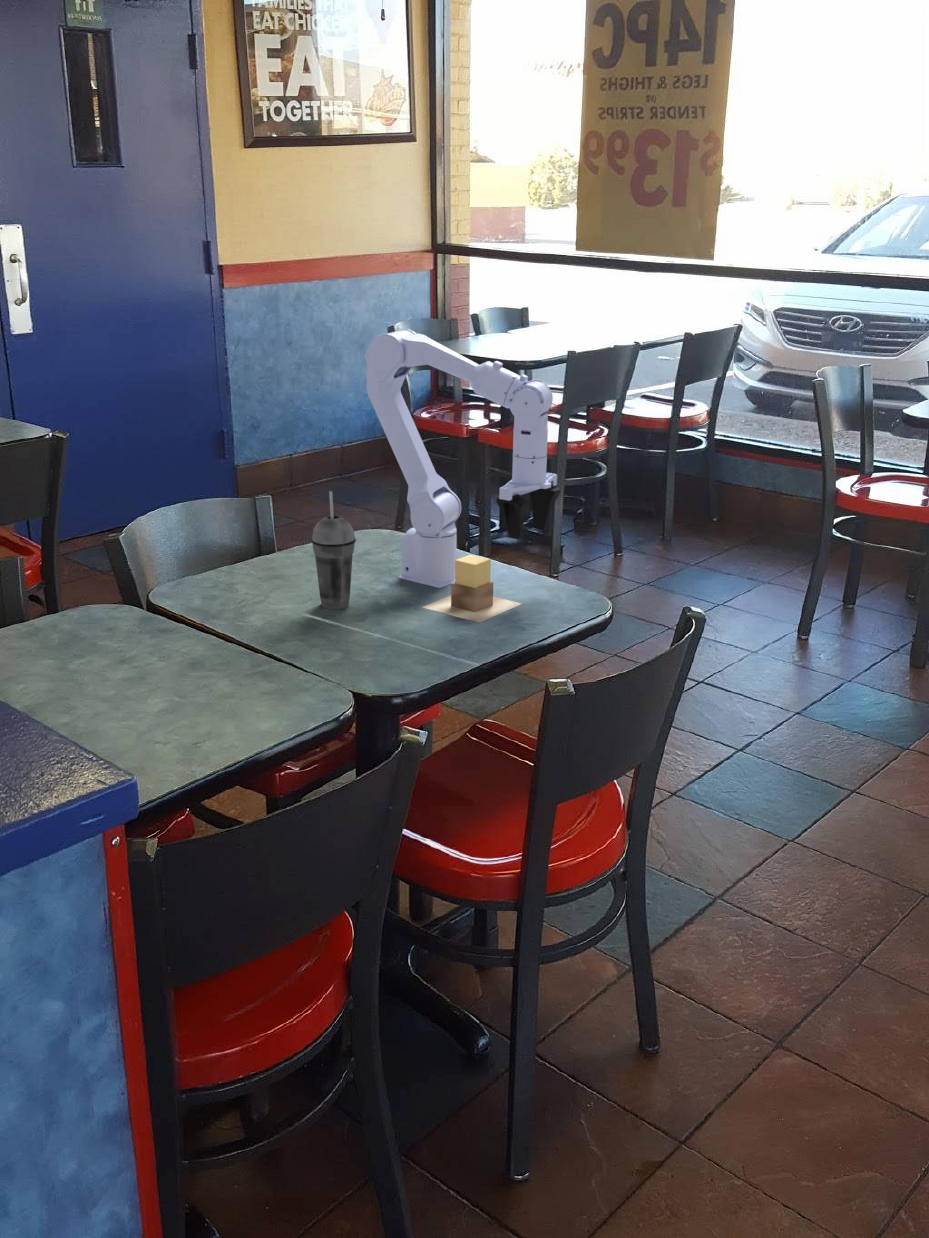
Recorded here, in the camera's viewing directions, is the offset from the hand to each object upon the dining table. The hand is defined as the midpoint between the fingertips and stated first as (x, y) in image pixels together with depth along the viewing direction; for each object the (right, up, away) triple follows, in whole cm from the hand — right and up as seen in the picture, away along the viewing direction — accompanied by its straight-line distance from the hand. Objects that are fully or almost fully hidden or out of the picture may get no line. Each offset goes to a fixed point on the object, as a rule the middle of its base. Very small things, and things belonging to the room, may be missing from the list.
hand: (527, 533), depth 206 cm
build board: (-9, -13, -5) cm, 17 cm away
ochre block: (-9, -9, -7) cm, 14 cm away
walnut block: (-9, -12, -5) cm, 17 cm away
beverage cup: (-32, -13, -6) cm, 35 cm away
